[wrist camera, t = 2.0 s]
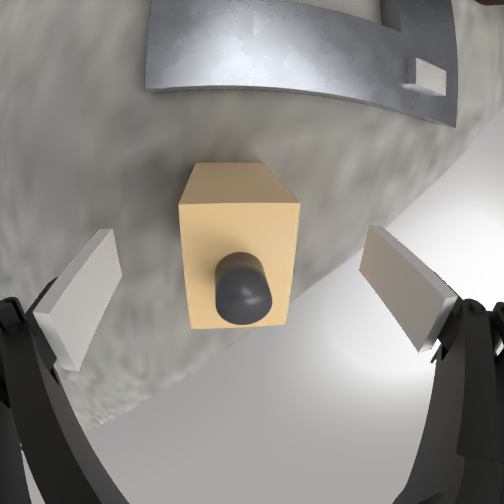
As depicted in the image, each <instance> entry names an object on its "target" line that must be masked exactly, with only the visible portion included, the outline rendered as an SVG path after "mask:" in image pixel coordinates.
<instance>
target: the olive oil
mask: <svg viewBox="0 0 504 504" xmlns="http://www.w3.org/2000/svg"><path fill="white" fill-rule="evenodd" d="M476 1H477V2H479V3H481V4H483V5H504V0H476Z"/></svg>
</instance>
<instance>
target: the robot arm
mask: <svg viewBox="0 0 504 504" xmlns="http://www.w3.org/2000/svg"><path fill="white" fill-rule="evenodd" d="M359 271H360V272H361V273H362V275H363V276H364V277H365V278H366V280H367V281H368V282H369V284H370V285H371V286H372V288H373V289H374V290H375V291H376V293H377V294H378V295H379V297H380V298H381V299H382V301H383V302H384V304H385V305H386V306H387V308H388V309H389V311H390V312H391V313H392V315H393V316H394V317H395V319H396V320H397V322H398V323H399V325H400V326H401V327H402V329H403V330H404V332H405V333H406V335H407V336H408V337H409V339H410V340H411V342H412V343H413V345H414V346H415V348H416V349H417V351H418V352H422V351H426V350H430V349H432V347H433V345H434V343H435V342H436V340H437V338H438V339H439V341H440V342H441V345H440V346H439V348H438V350H437V352H436V353H435V355H434V356H433V358H432V360H431V363H433V362H434V360H435V359H437V362H436V369H435V376H434V383H433V389H432V394H431V400H430V405H429V410H428V414H427V419H426V423H425V427H424V431H423V435H422V438H421V442H420V445H419V449H418V452H417V456H416V459H415V462H414V465H413V468H412V471H411V473H410V476H409V479H408V482H407V484H406V486H405V488H404V489H403V491H402V492H401V493H400V494H399V495H398V497H397V498H396V499H395V501H394V502H393V504H504V348H503V350H502V351H501V352H500V354H499V355H498V356H497V354H496V351H497V349H498V348H499V346H500V345H501V343H502V342H503V344H504V303H503V302H498V303H496V305H495V307H494V309H493V311H486V309H485V308H484V306H483V305H482V304H480V303H479V302H478V301H475V300H473V299H465V300H462V298H461V297H460V296H459V295H458V294H457V293H456V292H455V291H454V290H453V289H452V288H451V287H450V286H449V285H447V284H446V282H445V281H443V280H441V278H440V277H439V276H438V275H437V274H436V273H435V272H434V271H432V270H431V269H430V268H429V267H427V265H425V264H424V263H423V262H422V261H421V260H420V259H419V258H418V257H417V256H415V255H414V254H413V253H412V252H411V251H410V250H409V249H408V248H406V247H405V246H404V245H403V244H402V243H401V242H400V241H398V240H397V239H396V238H395V237H394V236H392V235H391V234H390V233H389V232H388V231H386V230H385V229H384V228H383V227H382V226H374V225H369V228H368V233H367V238H366V242H365V247H364V252H363V256H362V260H361V264H360V269H359ZM121 277H122V273H121V268H120V264H119V259H118V254H117V249H116V244H115V238H114V233H113V228H107V229H99V230H98V231H97V232H96V233H95V234H94V236H93V237H92V238H91V239H90V240H89V241H88V242H87V243H86V244H85V246H84V247H83V248H82V249H81V250H80V251H79V253H78V254H77V255H76V256H75V257H74V258H73V260H72V261H71V262H70V263H69V264H68V266H67V267H66V268H65V269H64V271H63V272H62V273H61V274H60V276H59V277H56V278H55V279H53V280H52V281H51V282H49V283H48V284H47V285H46V287H45V288H44V289H43V291H42V292H41V293H40V295H39V296H38V298H37V299H36V300H35V301H34V303H33V304H32V305H31V307H30V308H29V310H28V311H27V312H26V314H25V313H24V311H23V309H22V306H21V304H20V302H19V300H18V298H16V297H8V298H5V299H3V300H1V301H0V504H31V500H30V495H29V491H28V487H27V483H26V477H25V472H24V466H23V459H22V452H21V446H22V449H23V452H24V454H25V457H26V460H27V463H28V465H29V468H30V470H31V473H32V475H33V478H34V480H35V482H36V485H37V487H38V489H39V491H40V493H41V495H42V498H43V500H44V502H45V504H129V503H128V502H127V500H126V499H125V497H124V496H123V495H122V493H121V492H120V491H119V489H118V488H117V486H116V485H115V484H114V482H113V481H112V479H111V478H110V476H109V475H108V473H107V472H106V470H105V469H104V467H103V465H102V464H101V462H100V461H99V459H98V457H97V456H96V454H95V452H94V451H93V449H92V447H91V445H90V443H89V442H88V440H87V438H86V436H85V434H84V432H83V430H82V428H81V426H80V424H79V422H78V420H77V418H76V416H75V414H74V412H73V410H72V408H71V405H70V403H69V401H68V399H67V396H66V394H65V392H64V389H63V387H62V384H61V382H60V379H59V376H58V374H57V371H56V370H55V368H54V366H53V365H54V363H55V361H56V359H57V360H58V362H59V363H60V365H61V367H62V368H63V369H66V370H71V371H77V372H79V370H80V367H81V365H82V362H83V360H84V357H85V355H86V352H87V350H88V347H89V345H90V343H91V340H92V338H93V336H94V333H95V331H96V329H97V327H98V324H99V322H100V320H101V318H102V316H103V314H104V311H105V309H106V307H107V305H108V303H109V301H110V299H111V297H112V295H113V293H114V291H115V289H116V287H117V285H118V283H119V281H120V279H121Z"/></svg>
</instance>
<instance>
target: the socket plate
mask: <svg viewBox="0 0 504 504" xmlns="http://www.w3.org/2000/svg"><path fill="white" fill-rule="evenodd" d="M381 9H382V25H380V24H377V23H374V22H371V21H368V20H365V19H362V18H359V17H355V16H352V15H348V14H345V13H341V12H337V11H333V10H329V9H324V8H319V7H315V6H309V5H304V4H298V3H292V2H285V1H277V0H152V1H151V9H150V18H149V27H148V39H147V52H146V72H145V90H146V91H149V92H152V93H161V92H172V91H187V90H221V89H227V90H261V91H276V92H288V93H298V94H307V95H315V96H322V97H328V98H335V99H341V100H346V101H352V102H357V103H362V104H366V105H371V106H375V107H380V108H384V109H388V110H392V111H395V112H399V113H403V114H406V115H410V116H413V117H417V118H420V119H423V120H426V121H429V122H432V123H435V124H440V125H445V126H450V127H454V128H456V117H457V98H458V63H457V45H456V34H455V25H454V17H453V10H452V4H451V0H381Z"/></svg>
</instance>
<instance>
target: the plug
mask: <svg viewBox="0 0 504 504" xmlns="http://www.w3.org/2000/svg"><path fill="white" fill-rule="evenodd" d="M300 204H301V203H300V202H299V201H298V200H297V199H296V198H295V196H294V195H293V194H292V193H291V192H290V191H289V190H288V189H287V188H286V187H285V185H284V184H283V183H282V182H281V181H280V180H279V179H278V178H277V177H276V176H275V175H274V174H273V173H272V172H271V170H270V169H269V168H268V167H267V166H266V165H265V164H264V163H260V162H215V163H196V164H195V166H194V168H193V171H192V173H191V175H190V178H189V180H188V182H187V185H186V187H185V190H184V192H183V195H182V197H181V199H180V202H179V204H178V205H179V220H180V233H181V245H182V256H183V266H184V276H185V284H186V293H187V301H188V309H189V316H190V323H191V329H209V328H236V327H255V326H269V325H283V324H286V319H287V312H288V305H289V298H290V291H291V283H292V275H293V267H294V259H295V251H296V242H297V233H298V224H299V214H300Z"/></svg>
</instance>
